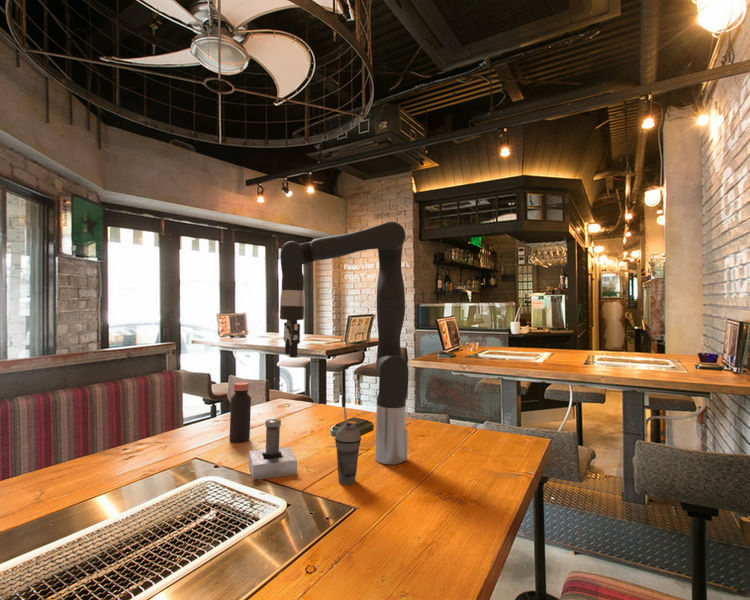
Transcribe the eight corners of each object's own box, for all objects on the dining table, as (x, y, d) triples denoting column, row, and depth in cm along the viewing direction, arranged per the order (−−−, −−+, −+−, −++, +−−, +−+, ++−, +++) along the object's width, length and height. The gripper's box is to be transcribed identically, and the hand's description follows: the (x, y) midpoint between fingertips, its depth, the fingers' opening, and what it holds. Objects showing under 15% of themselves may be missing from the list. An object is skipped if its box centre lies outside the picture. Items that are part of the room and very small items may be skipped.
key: (278, 465, 121) (279, 418, 121) (280, 471, 117) (282, 422, 117) (263, 467, 119) (264, 419, 119) (265, 473, 115) (266, 423, 115)
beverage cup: (356, 488, 106) (358, 412, 107) (330, 485, 108) (332, 410, 108) (362, 477, 114) (364, 406, 114) (338, 474, 115) (339, 404, 116)
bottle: (253, 439, 144) (255, 383, 144) (238, 444, 138) (240, 386, 139) (241, 435, 147) (242, 381, 148) (225, 440, 142) (227, 383, 142)
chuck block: (288, 459, 126) (289, 446, 126) (296, 474, 114) (297, 460, 115) (248, 464, 121) (249, 450, 121) (252, 480, 110) (253, 465, 110)
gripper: (309, 305, 124) (307, 358, 123) (299, 305, 137) (298, 353, 136) (284, 304, 121) (282, 358, 120) (276, 304, 134) (275, 353, 133)
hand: (290, 355), depth 128 cm, fingers open, 8 cm apart
